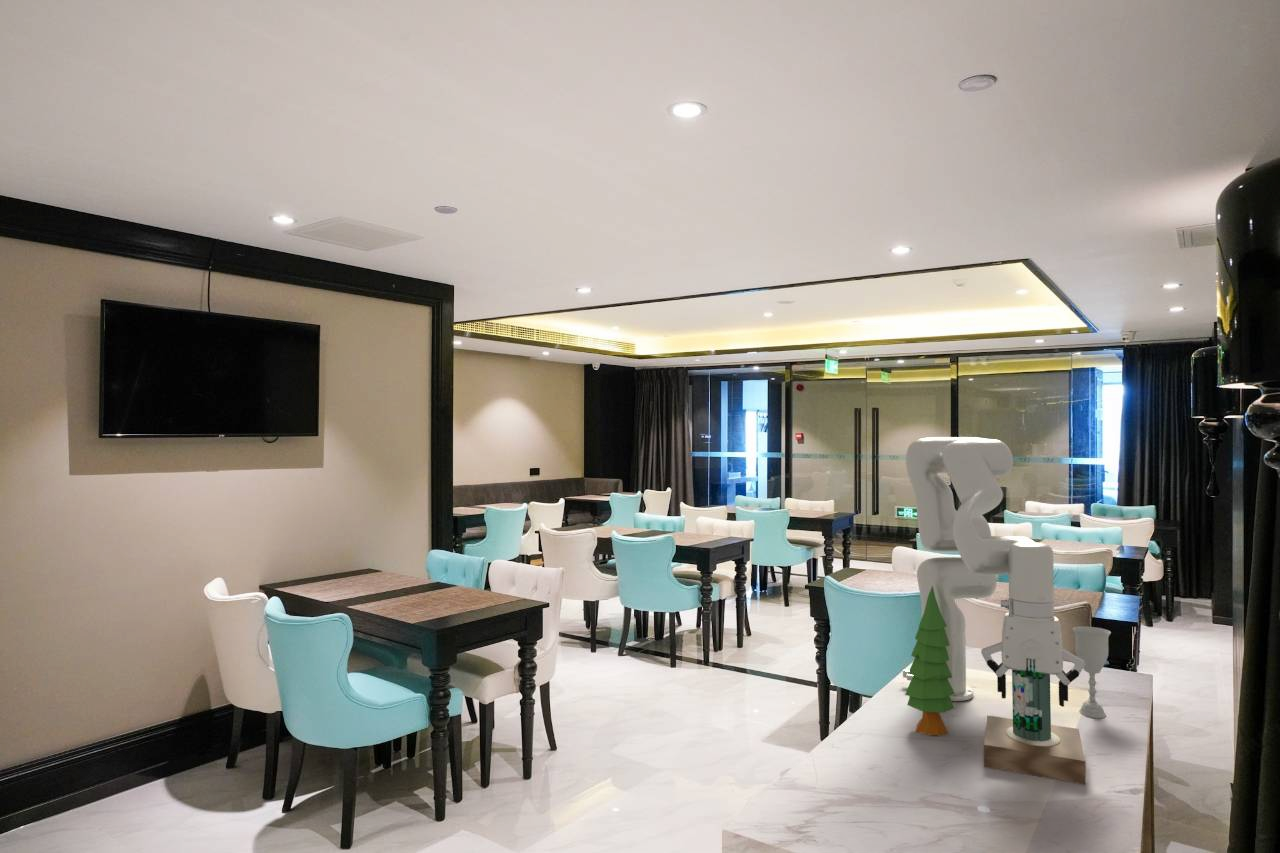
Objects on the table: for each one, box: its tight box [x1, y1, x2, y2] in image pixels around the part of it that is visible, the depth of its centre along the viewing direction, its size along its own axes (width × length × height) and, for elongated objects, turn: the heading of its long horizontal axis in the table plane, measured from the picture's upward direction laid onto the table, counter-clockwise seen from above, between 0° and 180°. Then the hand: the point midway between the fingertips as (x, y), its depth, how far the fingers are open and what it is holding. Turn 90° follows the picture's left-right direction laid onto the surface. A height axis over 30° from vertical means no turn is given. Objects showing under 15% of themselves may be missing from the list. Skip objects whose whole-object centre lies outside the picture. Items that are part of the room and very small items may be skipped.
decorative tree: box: [904, 585, 955, 737], centre depth 155 cm, size 10×9×30 cm
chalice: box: [1072, 625, 1112, 719], centre depth 164 cm, size 7×7×18 cm
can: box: [1011, 658, 1052, 742], centre depth 142 cm, size 6×6×15 cm
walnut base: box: [983, 714, 1087, 785], centre depth 141 cm, size 16×16×4 cm
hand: (1032, 700), depth 141 cm, fingers open, 9 cm apart
